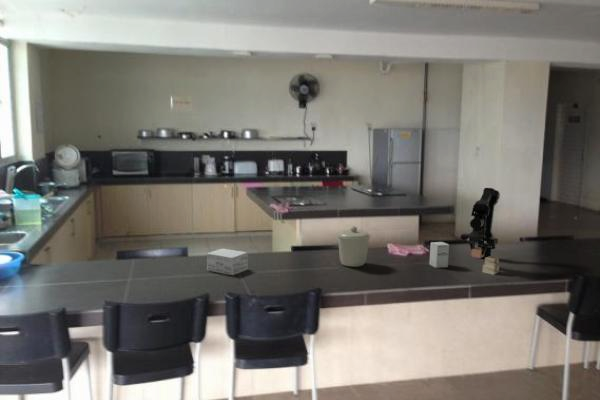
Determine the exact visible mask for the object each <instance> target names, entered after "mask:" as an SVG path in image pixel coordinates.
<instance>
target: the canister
mask: <svg viewBox="0 0 600 400" xmlns="http://www.w3.org/2000/svg"><path fill="white" fill-rule="evenodd" d="M336 236H337V241H338V254H339V261H340V263H341V264H342V265H343V266H346V267H350V268H355V267H356V268H357V267H362V266H364V265H365V264H366V260H367V255H368V249H369V243H370V241H369V240H370V238H371V235H370V234H369V233H368V232H366V231H363V230H358V228H357V227H356V226H355V225H354V226H351V227H350V229H346V230H345V229H344V230H342V231H339V232H338V233H337V234H336Z"/></svg>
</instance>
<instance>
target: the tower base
mask: <svg viewBox="0 0 600 400" xmlns="http://www.w3.org/2000/svg"><path fill="white" fill-rule="evenodd" d="M499 272H500V265H499V264H498V266H495V267H491V266H487V265H485V263H484V264H483V265H482V273H485V274H489V275H493V276H494V275H496V274H498V273H499Z"/></svg>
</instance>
